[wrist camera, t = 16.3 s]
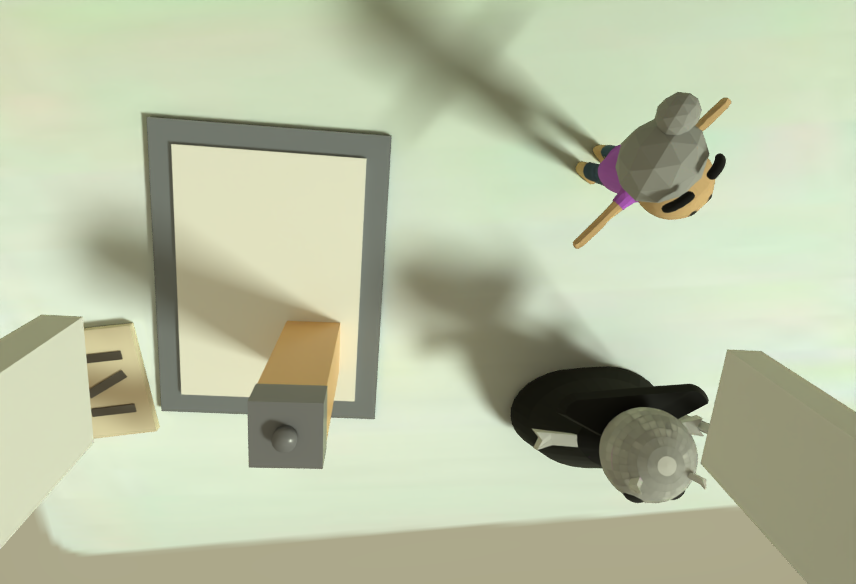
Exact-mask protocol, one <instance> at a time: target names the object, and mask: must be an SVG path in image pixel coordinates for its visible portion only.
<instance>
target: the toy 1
mask: <svg viewBox="0 0 856 584" xmlns="http://www.w3.org/2000/svg"><path fill="white" fill-rule="evenodd" d="M730 104H731V100H730V99H729V98H723V99H721V100H720V101H719V102H718V103H717V104H716V105H715V106H714V107H712V108H711V109H710V110H709V111H708V112H707V113H706V114H705V115H704V116H703V117H702V118H701V119H700V120H699V117H700V114H701V111H702V109H701V106H700V103H699V100H698V98H696V97H695V96H693V95H692V94H691V93H682V92H677V93H675V94H673V95H672V96H670V97H668V98H666V99H665V100H664V101H663V102H662V103H661V104H660V105H659V106H658V108H657V112H656V116H655V119H654V120H652V121H650V122H648V123H646V124H644V125H642V126H640V127H638V128H637V129H636V130H635V131H634V132H633V133H631V134H630V135H629V136H628V137H627V138H626V139H625V140H624V141H623V142H622V143H621V145H618V146H612V145H597V146H595V147H594V149H593V152H594V154H595V155H596V157H597V158H598V159H599V161H600V162H601V163H600V164H595V163H591V162H589V163H586V162H582V161H581V162H579V163H578V164H577V166H576V172H577V173H578V174H579V175H580V176H581V177H583V178H584V179H585V180H586V181H587V182H588V183H589V184H594V183H598V184H601V185H603V186H605V187H606V188H607V189H609V190H611V191H613V192H615V193H617V195H616V196H615V198H614V199H613V202H612V203H611V205H610V206H609V207H608V208H607V209H606V210H605V211H604V212H603V213H602V214H601V215H600V216H599V217H598V218H597V219H596V220H595V221H594V222H593V223H592V224H591V225H590V226H589V227H588V228H587V229H586V230H585V231H584V232H583V233H582V234H580V235H579V236H578V237H577V238H576V239H575V240H574V242H573V246H574V247H575V248H576V249H578V248H580V247H582V246H584V245H585V244H586V243H587V242H588V241H589V240H590V239H591V238H592V237H593V236H594V235H596V234H597V233H598V232H599V231H600V230H601V229H602V228H603V227H604V226H605V225H606V223H607V222H608V221H609V220H610V219H611V218H612V217H614V216H615V215H616V214H618V213H619V212H620V211H622V210H624V209H625V208H626V207H628V206H630V205H631V204H633V203H634V202H639V203H640V205H641V206H642V207H643V208H644V209H645V210H646V211H648V212H649V213H650V214H652V215H654V216H656V217H659V218H662V219H668V220H672V219H681V218H685V217H689V216H692V215H693V214H695V213H696V212H697V211H698V210H699V209H700V208H701V207H702V206H703V205H705V204H706V203H707V202H708V201H709V200H710V199H711V197H712V193H713V189H714V184H715V178H717V177H718V175H719V174H720V173H721V172H722V170H723V168H724V166H725V163H726V159H725V156H724V155H723V154H721V153H720V154H717V155H716V156H715V161H714V163H713V165H712V164H711V162H710V160H709V159H708V156H709V151H708V148H707V145H706V141H705V138H704V135H703V132H702V131H704V130H705V129H706V128H707V127H709V126H710V125H711V124H712V123H713V122H714V121H715V120H716V119H717V118H718V117H719V116H720V115H721V114H722V113H723V112H724V111H725V110H726V109H727V108H728V107H729V105H730Z"/></svg>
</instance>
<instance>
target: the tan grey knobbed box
mask: <svg viewBox="0 0 856 584" xmlns="http://www.w3.org/2000/svg"><path fill="white" fill-rule="evenodd" d="M339 359H340V323H336V322H309V321H287V322H286V324H285V326H284V328H283V330H282V332H281V334H280V336H279V339H278V341H277V343H276V345H275V347H274V349H273V351H272V353H271V356H270V358H269V360H268V362H267V364H266V366H265V368H264V370H263V372H262V375H261V377H260V379H259V381H258V383H257V384H255V386H254V388H253V391H252V393H251V395H250V397H249V399H248V401H247V405H248V449H249V467H256V468H309V469H323V464H324V458H325V453H326V441H327V436H328V430H329V425H330V419H331V414H332V408H333V403H334V397H335V392H336V386H337V381H338V375H339Z"/></svg>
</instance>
